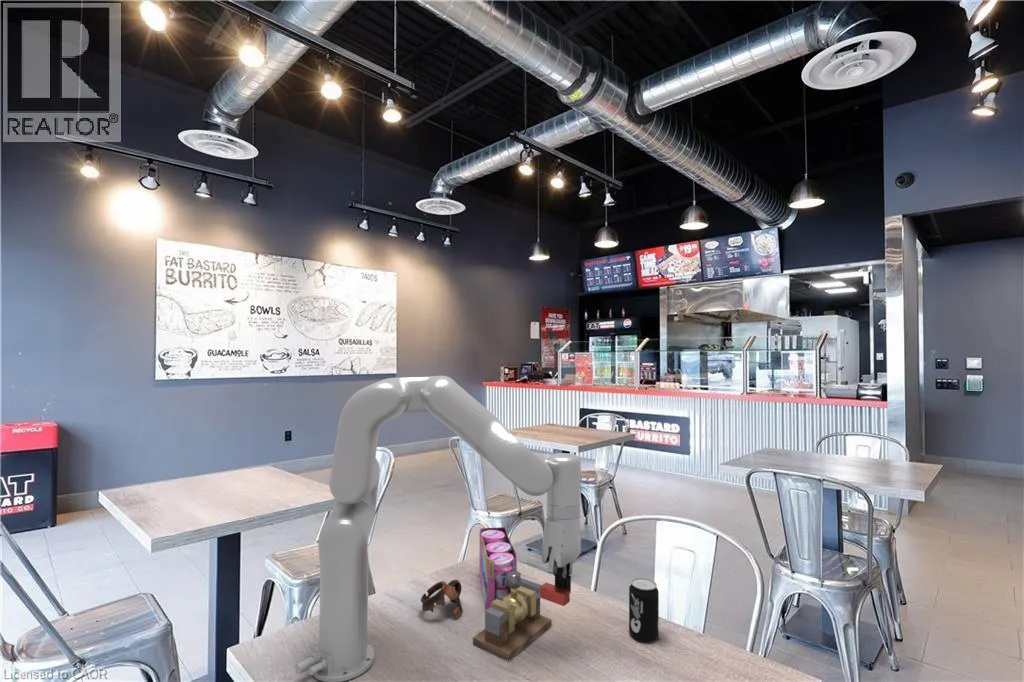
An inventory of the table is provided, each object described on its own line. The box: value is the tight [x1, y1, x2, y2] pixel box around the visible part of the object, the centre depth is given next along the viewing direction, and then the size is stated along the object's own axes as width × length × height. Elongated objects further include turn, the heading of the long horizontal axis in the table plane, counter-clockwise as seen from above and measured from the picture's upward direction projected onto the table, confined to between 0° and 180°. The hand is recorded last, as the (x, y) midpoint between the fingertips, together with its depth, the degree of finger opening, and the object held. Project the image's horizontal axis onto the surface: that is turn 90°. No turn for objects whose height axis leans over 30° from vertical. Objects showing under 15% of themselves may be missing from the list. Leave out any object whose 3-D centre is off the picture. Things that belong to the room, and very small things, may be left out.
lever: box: [508, 570, 571, 607], centre depth 108 cm, size 16×3×3 cm, turn 53°
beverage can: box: [628, 577, 660, 644], centre depth 112 cm, size 7×7×12 cm
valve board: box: [472, 598, 553, 662], centre depth 112 cm, size 17×10×6 cm, turn 143°
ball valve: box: [484, 586, 541, 636], centre depth 112 cm, size 16×6×8 cm, turn 143°
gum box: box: [478, 527, 518, 611], centre depth 131 cm, size 24×8×14 cm, turn 9°
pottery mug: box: [420, 579, 464, 621], centre depth 122 cm, size 12×10×8 cm
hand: (562, 592), depth 108 cm, fingers closed
